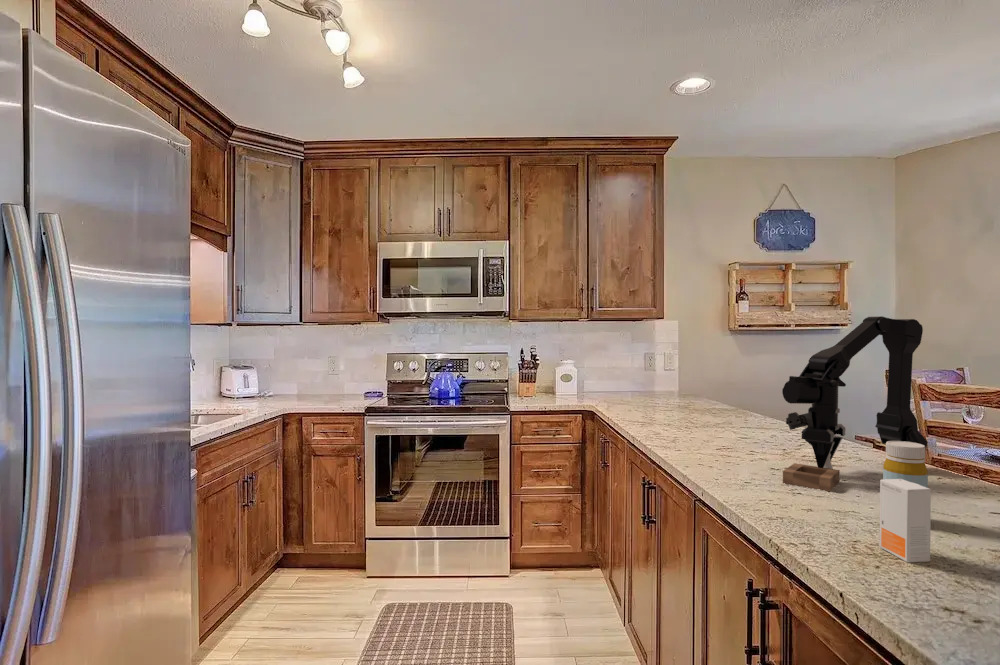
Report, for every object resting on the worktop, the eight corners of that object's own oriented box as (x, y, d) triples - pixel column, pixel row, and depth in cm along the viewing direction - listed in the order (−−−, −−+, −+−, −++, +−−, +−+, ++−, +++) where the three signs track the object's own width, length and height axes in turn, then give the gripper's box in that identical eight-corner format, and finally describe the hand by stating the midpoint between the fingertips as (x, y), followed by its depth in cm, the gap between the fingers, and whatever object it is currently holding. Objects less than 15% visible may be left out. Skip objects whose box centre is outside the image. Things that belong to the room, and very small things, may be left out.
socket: (794, 474, 140) (794, 463, 139) (839, 482, 133) (839, 470, 133) (782, 483, 132) (782, 471, 132) (830, 491, 125) (830, 478, 125)
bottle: (935, 527, 103) (935, 448, 103) (893, 525, 104) (894, 447, 104) (915, 515, 110) (915, 441, 110) (876, 513, 111) (876, 439, 111)
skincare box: (878, 548, 94) (878, 478, 94) (901, 547, 94) (901, 478, 94) (907, 563, 88) (907, 489, 88) (932, 562, 88) (932, 488, 88)
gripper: (799, 399, 150) (797, 456, 150) (779, 402, 136) (778, 465, 136) (846, 403, 143) (845, 463, 142) (830, 407, 129) (829, 473, 128)
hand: (823, 466), depth 137 cm, fingers open, 6 cm apart
